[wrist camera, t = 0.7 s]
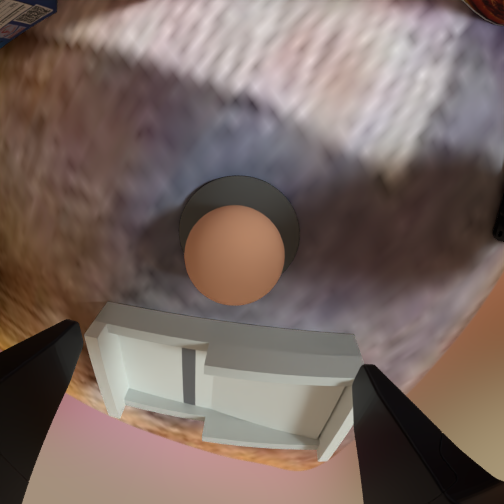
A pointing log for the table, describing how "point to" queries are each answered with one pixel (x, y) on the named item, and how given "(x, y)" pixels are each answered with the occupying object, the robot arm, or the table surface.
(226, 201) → the dark grey disc
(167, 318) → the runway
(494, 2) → the canned food
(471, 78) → the table surface
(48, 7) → the juice carton
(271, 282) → the ball
